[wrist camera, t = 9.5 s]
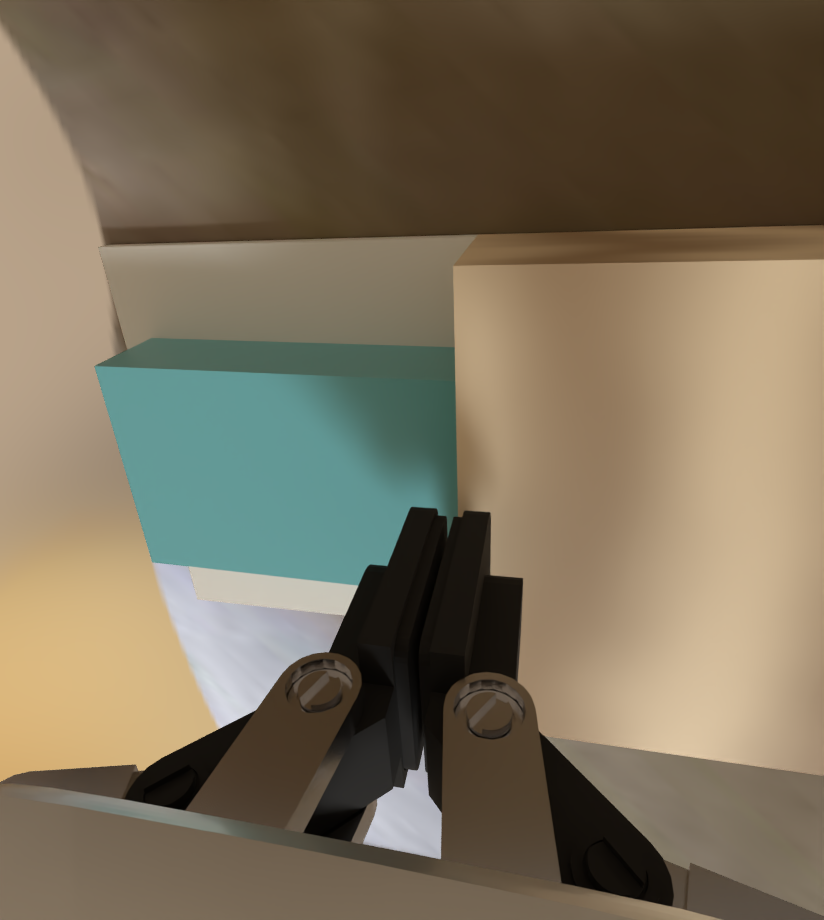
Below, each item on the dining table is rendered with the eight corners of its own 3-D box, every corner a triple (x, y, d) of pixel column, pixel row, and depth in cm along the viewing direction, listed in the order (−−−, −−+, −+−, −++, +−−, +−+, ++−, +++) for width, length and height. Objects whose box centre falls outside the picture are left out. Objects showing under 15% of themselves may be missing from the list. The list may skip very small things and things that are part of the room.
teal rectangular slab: (471, 347, 15) (458, 381, 13) (468, 543, 18) (457, 596, 16) (151, 338, 17) (94, 366, 15) (194, 517, 20) (152, 562, 17)
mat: (478, 234, 14) (476, 237, 14) (478, 621, 20) (477, 629, 19) (108, 244, 16) (98, 246, 16) (203, 592, 22) (197, 599, 21)
